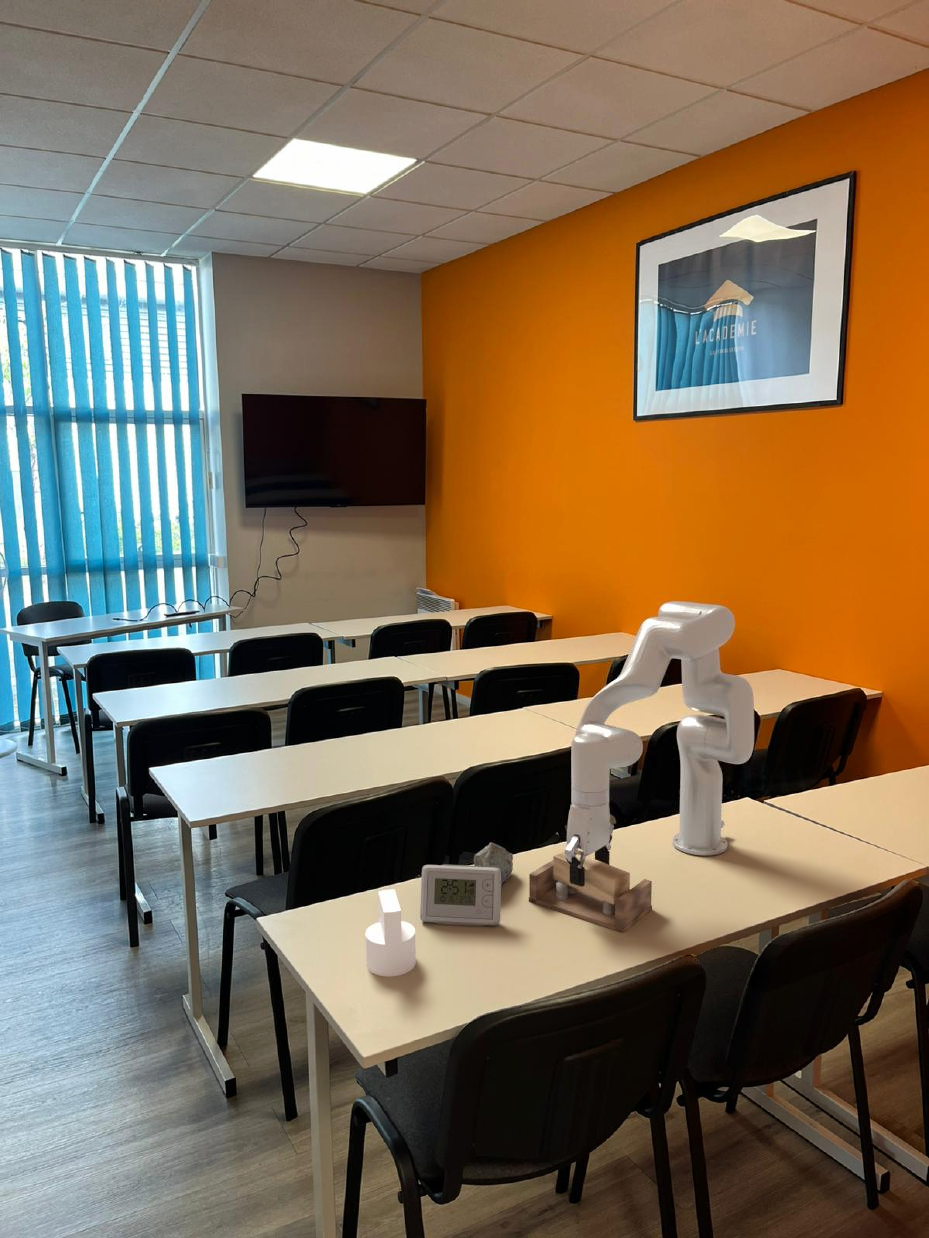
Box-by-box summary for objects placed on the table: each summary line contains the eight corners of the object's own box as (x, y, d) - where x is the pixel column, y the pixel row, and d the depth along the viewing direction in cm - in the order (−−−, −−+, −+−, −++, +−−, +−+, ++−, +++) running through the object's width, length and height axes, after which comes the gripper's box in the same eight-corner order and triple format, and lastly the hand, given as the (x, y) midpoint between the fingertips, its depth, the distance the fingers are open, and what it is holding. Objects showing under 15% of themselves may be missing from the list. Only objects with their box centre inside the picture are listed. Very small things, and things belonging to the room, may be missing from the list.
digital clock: (415, 923, 177) (414, 872, 176) (432, 903, 186) (431, 854, 184) (494, 935, 172) (493, 883, 170) (507, 914, 180) (507, 864, 179)
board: (569, 871, 191) (569, 849, 190) (629, 896, 179) (629, 872, 178) (553, 878, 187) (553, 856, 187) (613, 904, 175) (613, 880, 175)
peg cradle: (560, 880, 195) (560, 854, 194) (652, 909, 181) (652, 881, 180) (528, 901, 186) (528, 873, 185) (623, 932, 172) (623, 903, 171)
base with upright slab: (419, 972, 159) (418, 909, 157) (369, 979, 157) (366, 914, 156) (412, 947, 168) (410, 887, 166) (363, 953, 166) (361, 892, 164)
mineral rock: (508, 869, 201) (507, 827, 200) (534, 888, 192) (533, 843, 190) (457, 882, 195) (456, 838, 194) (481, 902, 186) (480, 856, 184)
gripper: (596, 780, 189) (595, 857, 192) (550, 803, 176) (550, 886, 178) (627, 787, 184) (626, 866, 187) (583, 811, 171) (583, 896, 174)
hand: (589, 876), depth 183 cm, fingers open, 9 cm apart
